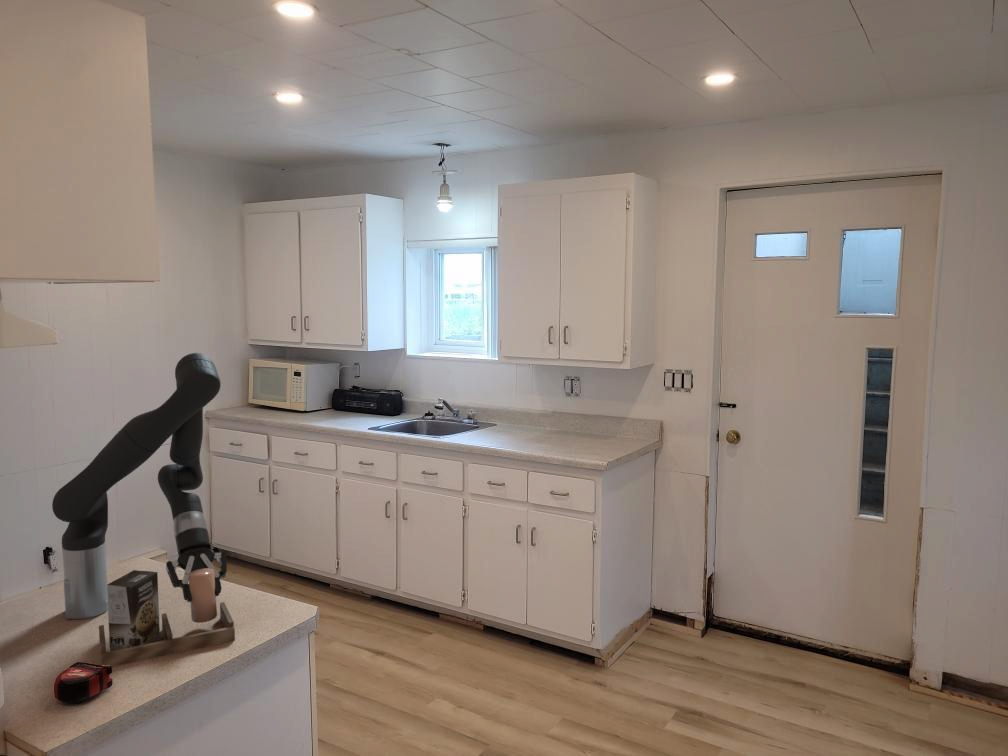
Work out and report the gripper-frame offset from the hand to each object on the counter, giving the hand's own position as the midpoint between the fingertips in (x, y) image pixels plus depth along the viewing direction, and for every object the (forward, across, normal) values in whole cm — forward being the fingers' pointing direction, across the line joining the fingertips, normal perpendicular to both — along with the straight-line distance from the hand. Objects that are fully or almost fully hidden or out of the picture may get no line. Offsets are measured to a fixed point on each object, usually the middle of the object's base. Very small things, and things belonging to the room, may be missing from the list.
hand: (203, 597), depth 175 cm
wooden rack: (+7, -9, +4) cm, 12 cm away
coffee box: (+6, -15, +5) cm, 17 cm away
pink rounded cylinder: (+3, 0, +4) cm, 5 cm away
